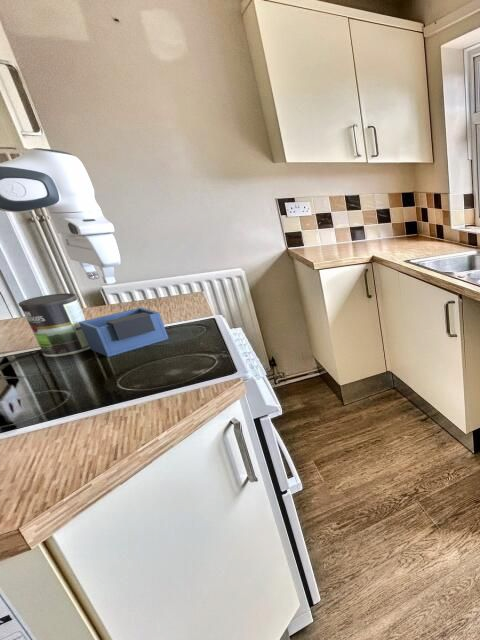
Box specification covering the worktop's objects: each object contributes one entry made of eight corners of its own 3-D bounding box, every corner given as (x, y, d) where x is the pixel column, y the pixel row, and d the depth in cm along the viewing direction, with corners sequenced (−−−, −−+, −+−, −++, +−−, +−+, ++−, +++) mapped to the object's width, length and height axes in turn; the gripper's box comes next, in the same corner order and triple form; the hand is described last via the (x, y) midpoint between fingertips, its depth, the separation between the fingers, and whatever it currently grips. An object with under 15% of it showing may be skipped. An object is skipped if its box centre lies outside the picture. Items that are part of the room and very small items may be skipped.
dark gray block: (119, 340, 108) (112, 323, 106) (112, 338, 109) (105, 321, 107) (155, 330, 114) (149, 314, 112) (148, 328, 116) (143, 312, 114)
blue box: (108, 357, 107) (96, 328, 104) (90, 349, 112) (78, 322, 109) (168, 338, 118) (159, 312, 115) (150, 332, 123) (141, 307, 120)
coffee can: (60, 359, 107) (34, 306, 101) (34, 354, 109) (8, 303, 104) (106, 343, 116) (85, 294, 110) (81, 340, 118) (59, 291, 113)
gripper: (46, 222, 102) (68, 278, 107) (80, 228, 93) (103, 289, 98) (80, 220, 107) (100, 274, 112) (116, 225, 98) (136, 283, 103)
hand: (102, 281), depth 105 cm, fingers open, 8 cm apart
